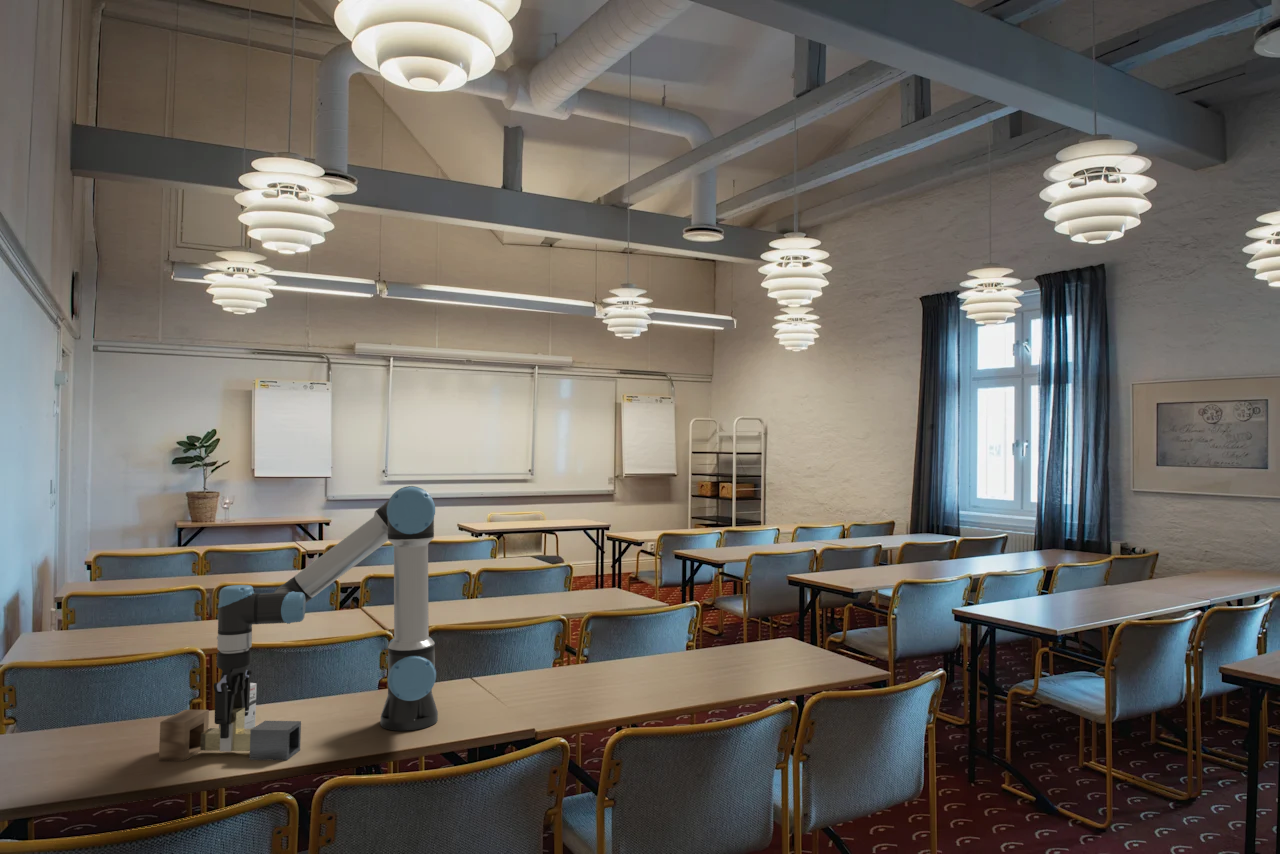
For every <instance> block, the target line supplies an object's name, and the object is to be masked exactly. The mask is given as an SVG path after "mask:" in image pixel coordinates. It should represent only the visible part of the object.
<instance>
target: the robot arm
mask: <svg viewBox="0 0 1280 854" xmlns="http://www.w3.org/2000/svg"><path fill="white" fill-rule="evenodd" d="M435 515H436V505H435V501H434V500H433V497H432V495H431V494H430V493H429V492H428V491H426V490H425V489H424V488H421V487H418V486H414V485H411V486H410V485H409V486H408V485H407V486H404V487H401V488H398V490H396V491H394V492H393V493H392V495H391V496H390V497H389V499H388V500H387V501H386V502H384V504H383V505H381V506H380V507H379V508H377V509H376V510H375V511H374V513H373V516H372V517H371V518H370V519H369V520H368V521H366V522H365V523H363V524H362V525H360V526H359V527H358V528H357V529H356V530H354V531H353V532H351V533H350V534H349V535H347V536H345V538H343V539H341V540H340V541H339V542H338V543H337V544H335V545H334V546H333V547H330V549H329V550H327V551H326V552H324V553H323V554H322V555H321V556H319V557H318V558H316V559H315V560H314V561H313V562H311V563H310V564H308V565H307V566H305V568H303V569H302V570H300V572H298V573H297V574H295V575H294V576H293V577H291V578H290V579H289V580H287V581H286V582H284V583H283V584H281V585H280V586H278V587H277V588H276V589H274V591H273V592H265V593H264V592H263V593H258V592H257V593H256V592H255V591H254V587H253V586H252V585H249V584H234V585H227V586H224V587H222V588H221V589H220V591H219V598H218V605H217V608H218V609H217V615H218V616H217V636H216V640H217V648H216V649H217V650H218V651H217V653H216V667H217V668H218V669H220V670H221V675H220V681H218V682H215V683H213V690H214V691H213V692H214V724H215V725H219V724H220V751H219V752H227V753H228V752H233V751H232V747H233V723H231V719H232V712H233V708H245V716H247V715H248V712H246V711H248V710H249V701H250V683H251V678H252V675H253V670H251V669H247V668H246V667H248V666H250V665H251V663H252V650H251V649H250V648H252V647H253V646H252V642H253V625H269V624H270V625H272V624H273V625H274V624H287V625H288V624H289V625H290V624H293V623H300V622H303V621H304V619H305V614H306V604H307V603H308V602H309V601H311V600H312V599H313V598H314V597H316V596H317V595H318V594H319V593H321V592H322V591H324V590H325V589H326V588H328V587H329V586H331V584H333V583H334V582H336V581H337V580H338V579H340V577H342V576H343V575H345V574H347V572H349V571H350V570H352V569H353V568H354V567H355V566H357V565H358V564H359V563H361V562H362V561H363V560H364V559H366V558H368V557H369V556H370V555H371V554H372V553H374V552H375V551H377V550H378V549H379V548H381V546H383V545H384V544H385V543H387V542H388V541H389V543H391V544H392V546H393V631H394V632H393V637H394V638H392V639H390V641H389V642H388V643H389V644H388V647H387V652H388V654H387V658H388V659H387V669H388V671H387V678H386V682H387V696H386V699H385V702H384V705H383V708H382V712H381V714H380V722H379V723H380V727H382V728H383V729H385V730H389V731H390V730H391V731H401V732H402V731H414V730H422V729H425V728H428V727H431V726H433V725H435V724H437V722H438V719H439V717H438V716H439V713H438V712H439V711H438V708H437V706H436V702H435V698H434V695H433V692H432V690H433V687H434V686H435V684H436V681H437V670H436V667H435V666H436V665H435V664H436V658H435V657H436V650H435V649H436V647H435V641H434V640H433V638H432V637H430V636H429V634H430V633H429V630H430V629H429V620H430V619H429V543H431V542H432V540H434V538H435ZM228 690H230V691H228Z"/></svg>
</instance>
